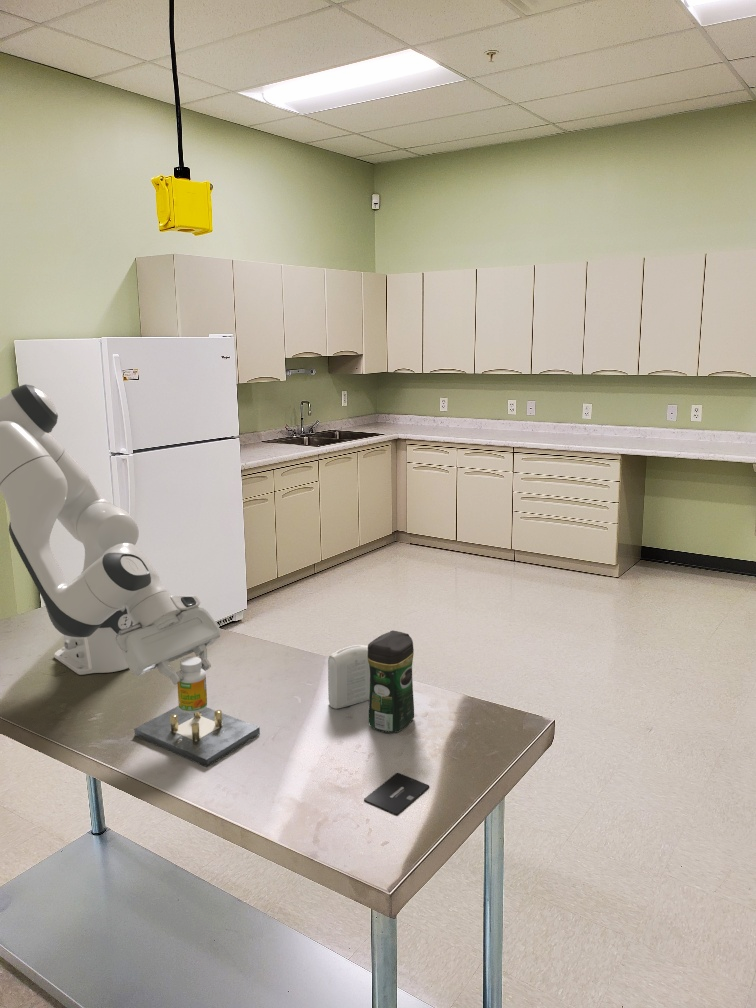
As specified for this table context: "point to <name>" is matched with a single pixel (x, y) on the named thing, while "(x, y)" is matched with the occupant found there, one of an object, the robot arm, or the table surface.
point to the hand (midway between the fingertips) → (193, 675)
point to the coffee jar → (391, 682)
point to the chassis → (197, 734)
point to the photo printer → (348, 676)
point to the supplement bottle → (192, 686)
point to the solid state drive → (396, 793)
